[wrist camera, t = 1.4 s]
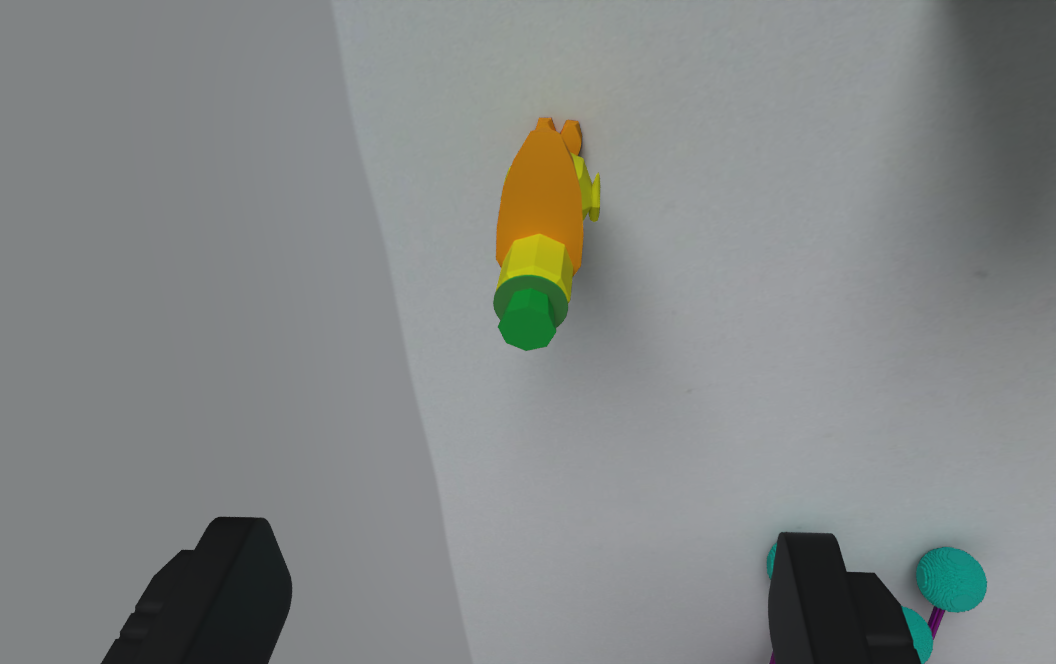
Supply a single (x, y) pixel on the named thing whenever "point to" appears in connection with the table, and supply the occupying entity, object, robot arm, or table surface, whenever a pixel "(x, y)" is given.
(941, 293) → the table surface
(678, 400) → the table surface
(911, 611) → the teal balls purple stick
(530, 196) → the toy figure
